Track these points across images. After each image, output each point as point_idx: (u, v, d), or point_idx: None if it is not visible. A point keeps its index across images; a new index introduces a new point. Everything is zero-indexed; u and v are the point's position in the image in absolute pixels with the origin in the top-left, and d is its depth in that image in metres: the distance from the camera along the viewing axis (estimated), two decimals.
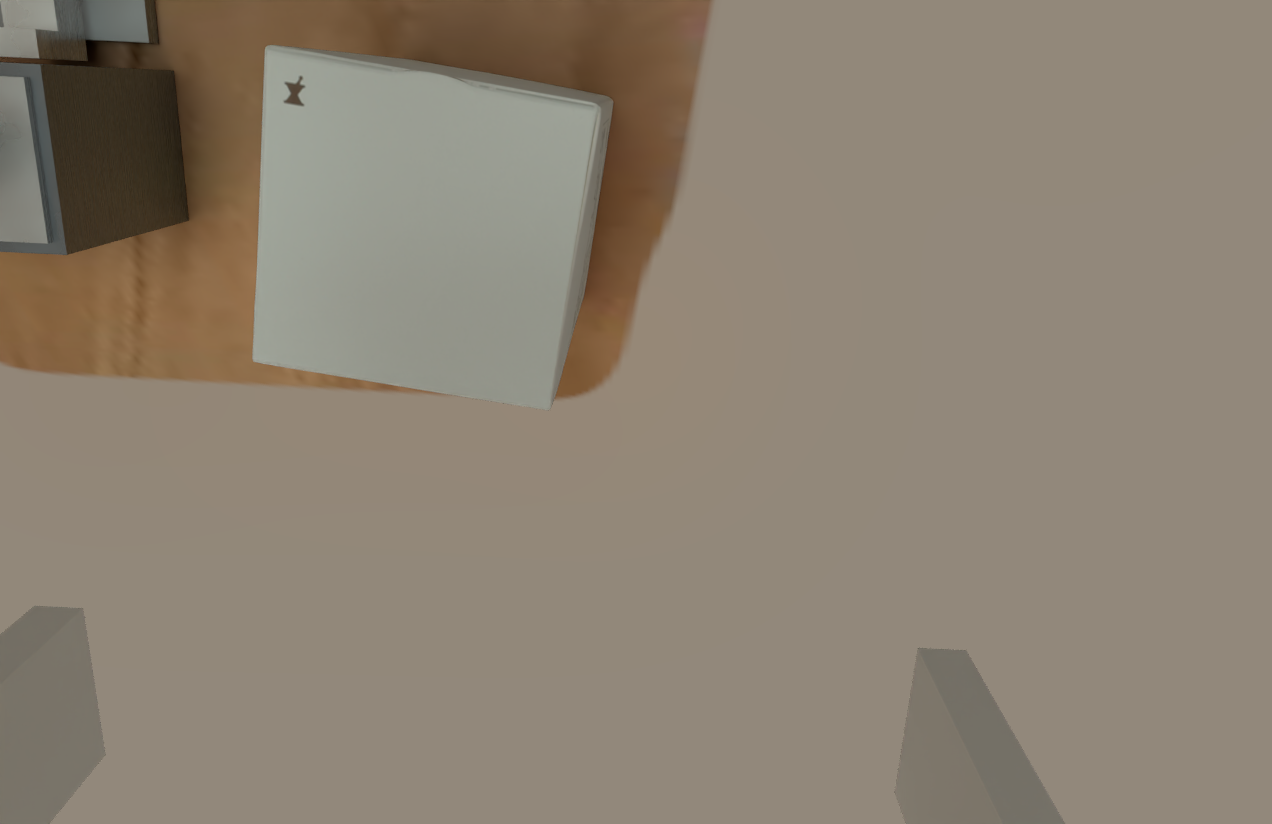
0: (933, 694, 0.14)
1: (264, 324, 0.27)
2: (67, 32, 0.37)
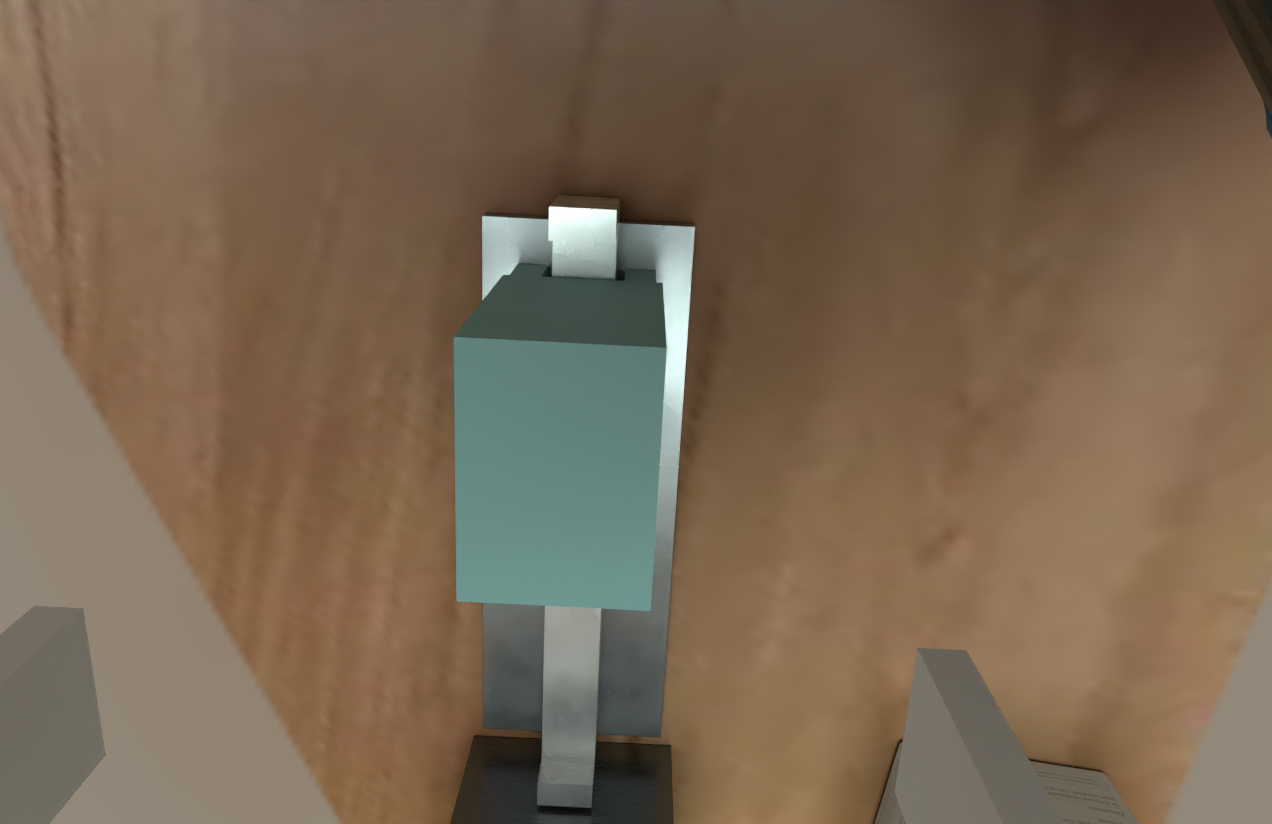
0: (933, 694, 0.14)
1: None
2: (595, 749, 0.37)
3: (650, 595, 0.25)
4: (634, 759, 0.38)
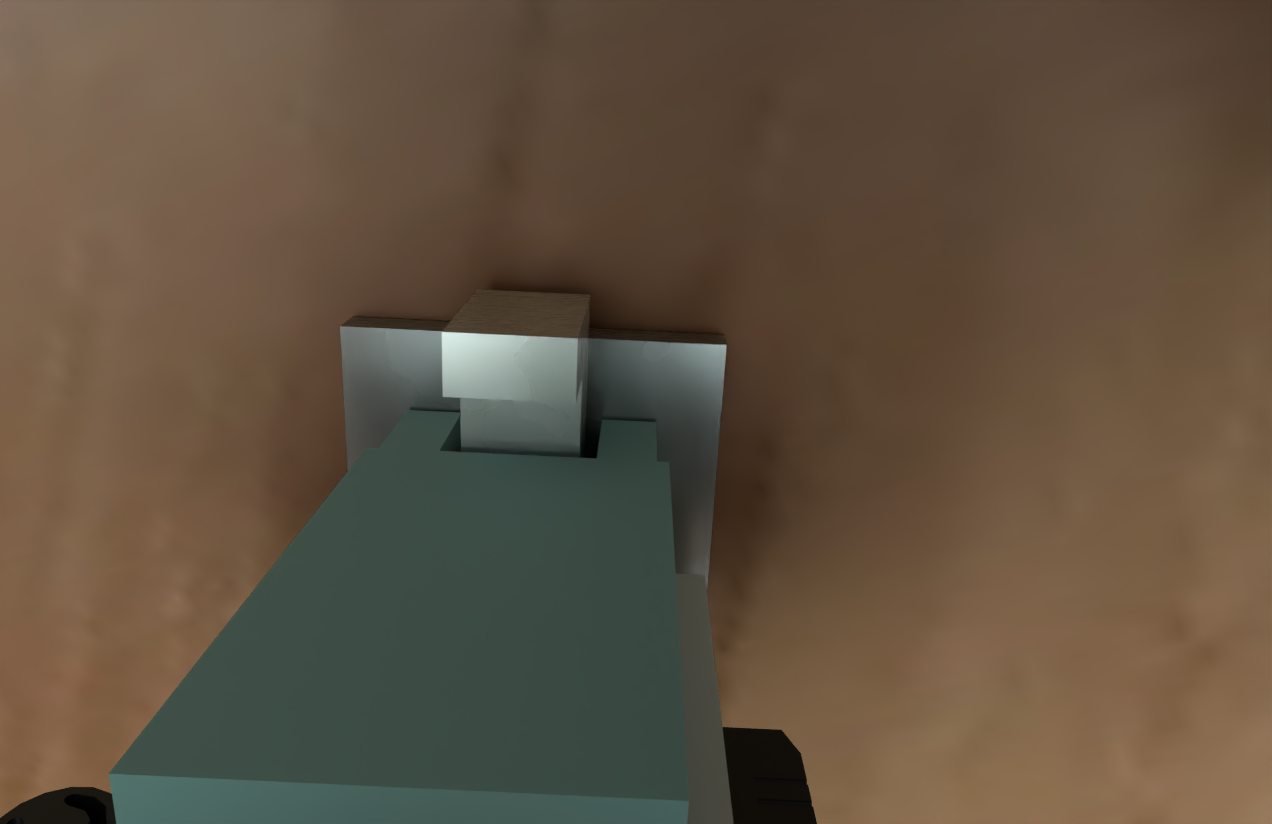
0: None
1: None
2: None
3: None
4: None
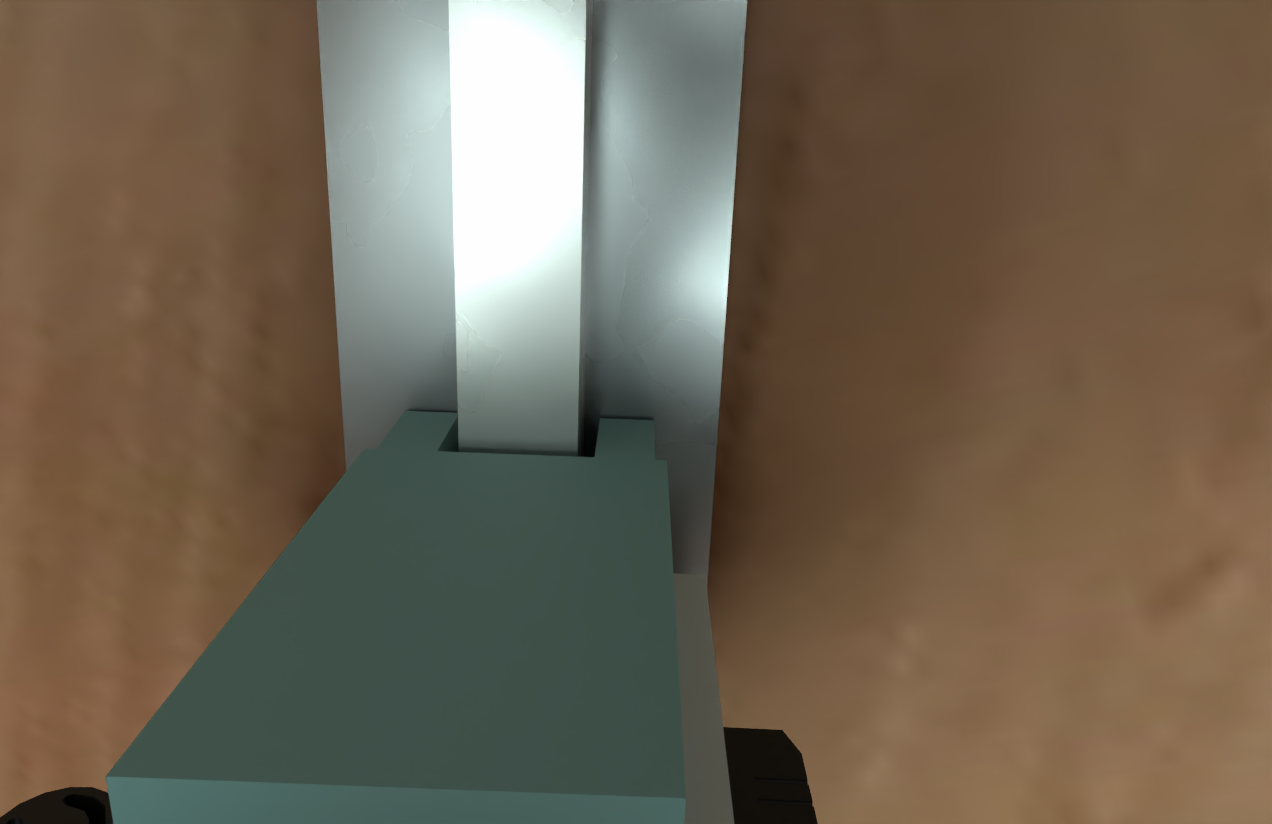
0: None
1: None
2: None
3: None
4: None
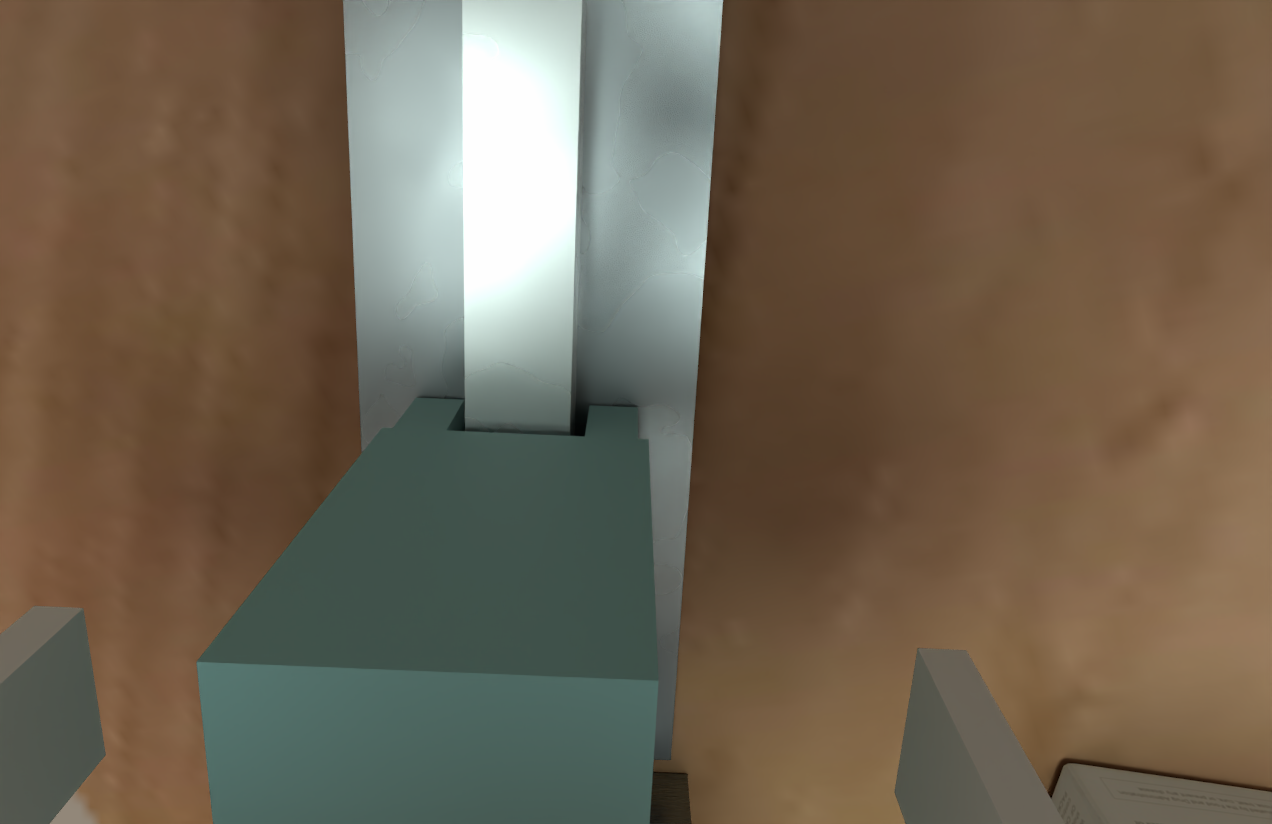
0: (933, 694, 0.14)
1: None
2: None
3: None
4: None
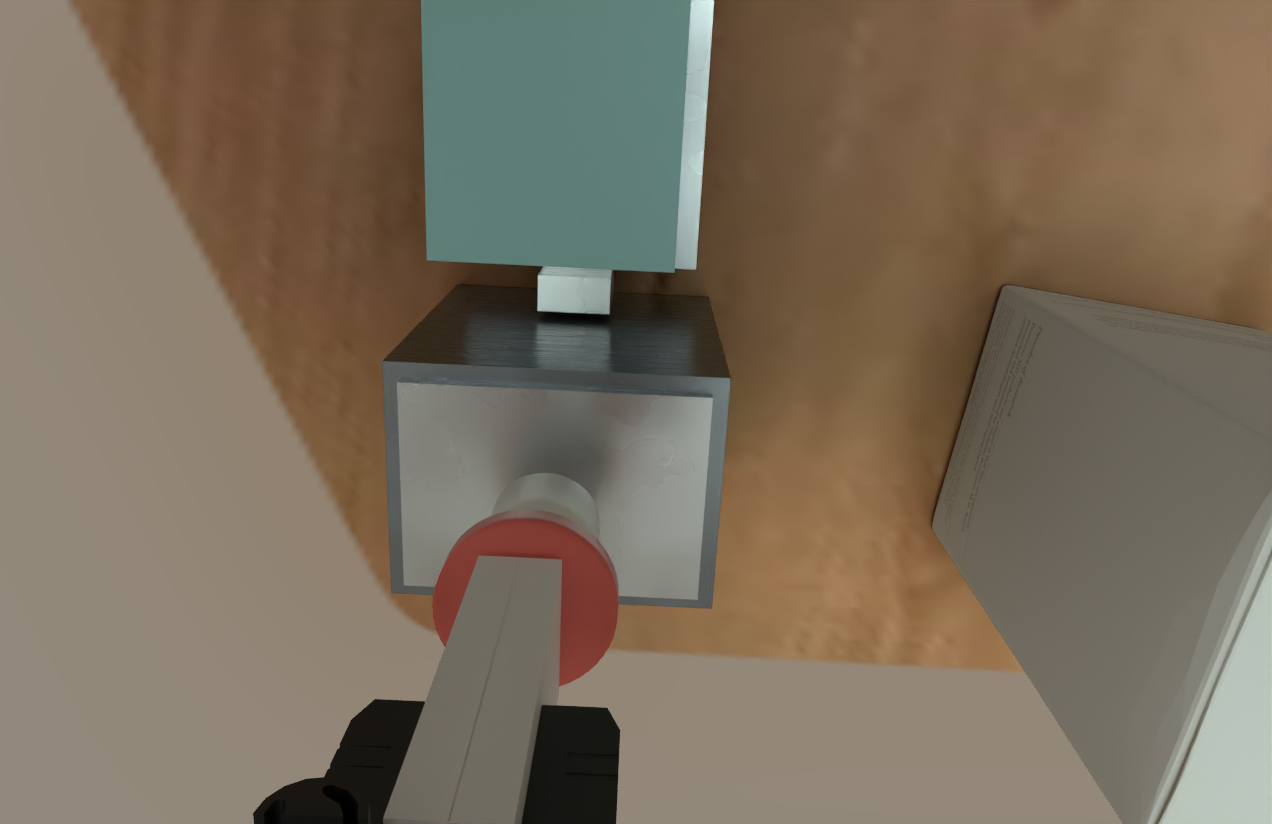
0: (513, 592, 0.16)
1: (1182, 812, 0.19)
2: None
3: (674, 250, 0.19)
4: (662, 301, 0.30)
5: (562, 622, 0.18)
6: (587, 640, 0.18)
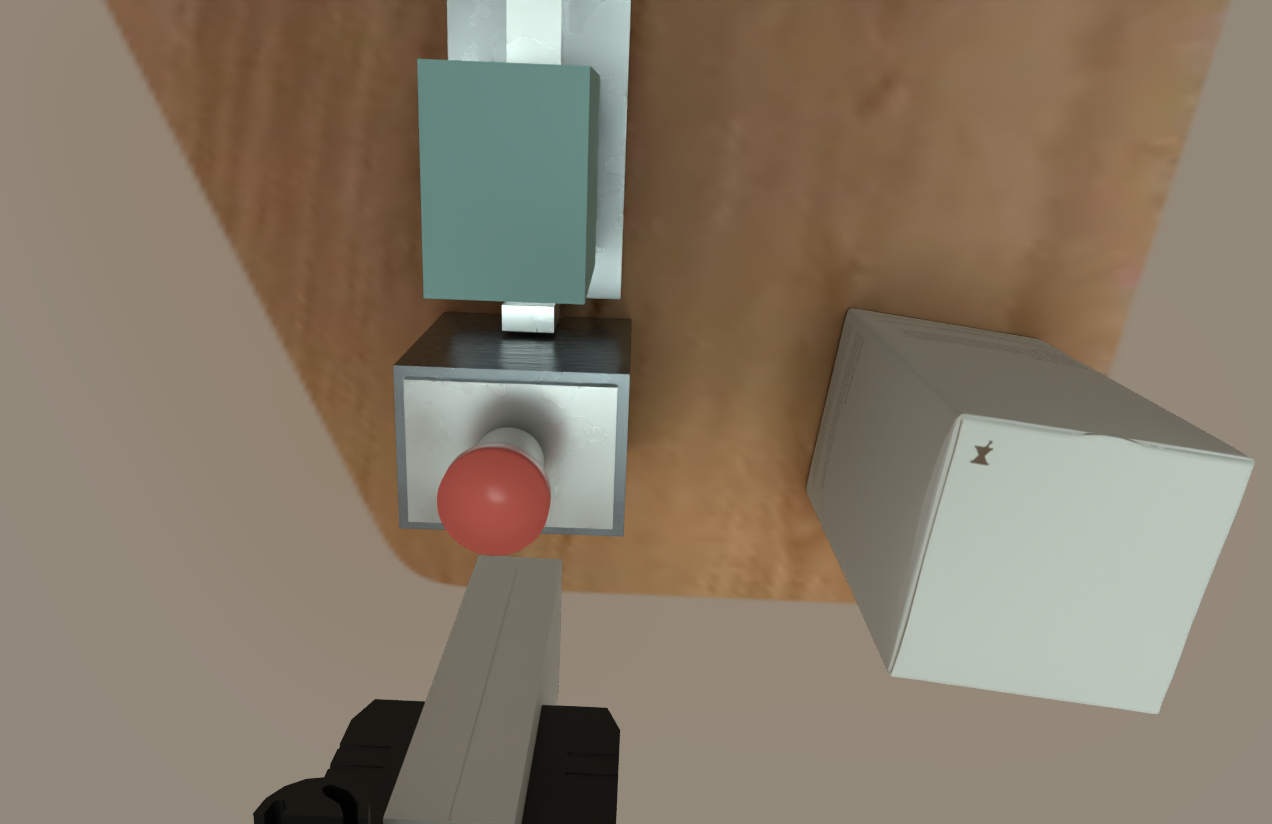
0: (512, 593, 0.16)
1: (911, 646, 0.29)
2: None
3: (583, 290, 0.30)
4: (596, 322, 0.40)
5: (515, 510, 0.29)
6: (531, 522, 0.29)
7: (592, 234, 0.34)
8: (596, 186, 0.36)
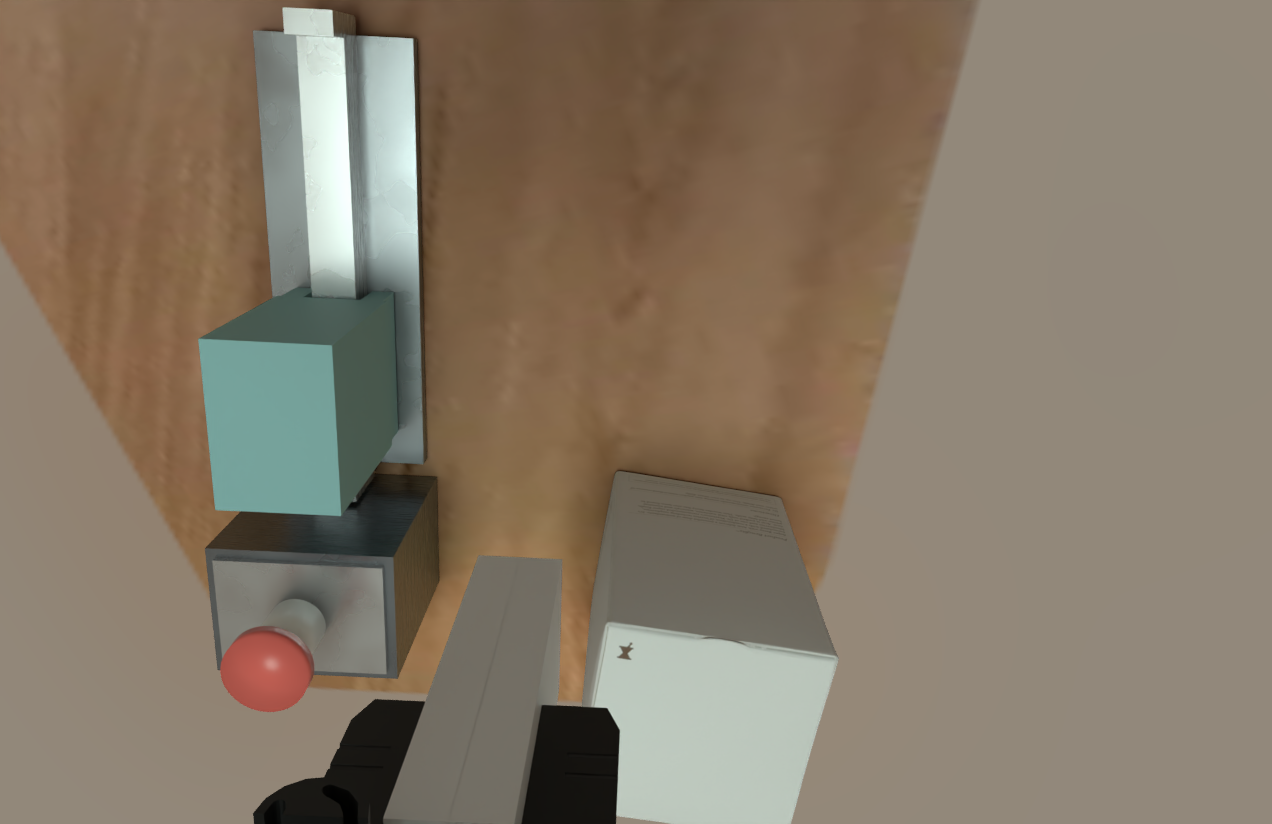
0: (513, 593, 0.16)
1: None
2: None
3: (339, 505, 0.38)
4: (404, 482, 0.49)
5: (282, 679, 0.38)
6: (294, 688, 0.38)
7: (371, 438, 0.42)
8: (384, 389, 0.44)
